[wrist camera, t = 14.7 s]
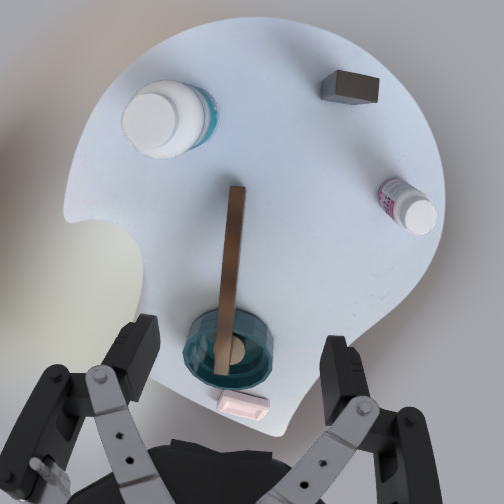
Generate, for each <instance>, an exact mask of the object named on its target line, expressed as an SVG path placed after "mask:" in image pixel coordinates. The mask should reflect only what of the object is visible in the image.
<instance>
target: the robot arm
mask: <svg viewBox="0 0 504 504" xmlns="http://www.w3.org/2000/svg"><path fill="white" fill-rule="evenodd" d="M159 349H160V333H159V326H158V319H157V316H154V315H148V314H140V315H139V317H138V319H137V321H136V322H135V323H133V322H129V323H128V324H127V325H125V326H124V327H123V328H122V329H121V331H120V332H119V334H118V337H117V338H116V339H115V341H114V343H113V344H112V346H111V348H110V349H109V351H108V353H107V355H106V356H105V358H104V360H103V362H102V363H101V365H97V366H94V367H92V368H91V369H90V370H88V372H87V373H69V371H68V369H67V368H66V367H65V366H63V365H59V364H55V365H52V366H49V367H48V368H47V369H46V370H45V371H44V372H43V374H42V376H41V378H40V379H39V381H38V383H37V385H36V386H35V388H34V390H33V391H32V393H31V395H30V397H29V399H28V401H27V403H26V404H25V406H24V408H23V410H22V412H21V414H20V416H19V417H18V419H17V421H16V423H15V425H14V427H13V430H12V431H11V433H10V435H9V438H8V440H7V442H6V444H5V446H4V448H3V450H2V452H1V455H0V489H2V490H3V491H4V492H6V493H7V494H9V495H10V496H11V497H12V498H13V499H15V500H16V501H18V502H19V503H21V504H325V503H324V502H323V501H322V499H320V498H321V496H322V495H323V494H324V493H325V492H326V490H327V489H328V488H329V486H330V485H331V484H332V483H333V482H334V480H335V479H336V478H337V476H338V475H339V474H340V472H341V471H342V470H343V468H344V467H345V465H346V464H347V463H348V462H349V460H350V459H351V457H352V456H353V454H354V453H355V452H356V450H357V449H358V450H362V451H367V452H371V453H373V455H374V466H375V476H376V490H377V504H442V496H441V490H440V485H439V479H438V474H437V468H436V464H435V459H434V455H433V449H432V445H431V441H430V437H429V432H428V428H427V425H426V420H425V417H424V415H423V414H422V412H421V411H420V410H418V409H416V408H414V407H404V408H402V409H401V410H400V411H399V412H398V413H397V412H393V411H389V410H384V409H382V408H379V405H378V404H377V402H376V401H375V400H373V399H372V398H371V397H370V394H369V389H368V385H367V381H366V378H365V373H364V369H363V366H362V362H361V358H360V355H359V354H358V352H357V351H356V350H355V348H354V347H347V344H346V340H345V337H344V336H334V335H328V337H327V339H326V343H325V346H324V349H323V352H322V355H321V359H320V378H321V387H322V396H323V405H324V415H325V425H326V426H331V427H330V428H329V429H328V430H327V431H325V432H324V433H323V434H322V435H321V436H320V437H319V439H318V440H317V441H316V442H315V443H314V445H313V446H312V447H311V448H310V449H309V450H308V451H307V452H306V454H305V455H304V456H303V457H302V458H301V459H300V460H299V462H298V463H297V464H296V465H295V466H294V467H293V468H292V467H290V466H289V465H287V464H285V463H283V462H281V461H279V460H276V459H273V458H272V452H263V451H262V452H261V451H250V450H245V451H237V452H225V453H220V452H217V451H214V450H211V449H209V448H206V447H203V446H201V445H198V444H196V443H191V442H185V441H180V440H175V439H172V440H171V444H170V445H162V446H158V447H154V448H151V449H149V450H147V449H146V447H145V445H144V443H143V441H142V439H141V437H140V434H139V432H138V430H137V428H136V426H135V423H134V421H133V418H132V416H131V413H130V411H129V409H128V405H129V402H130V401H134V402H138V401H139V398H140V396H141V393H142V391H143V388H144V386H145V383H146V381H147V378H148V376H149V374H150V371H151V369H152V366H153V364H154V362H155V359H156V357H157V355H158V352H159ZM85 417H94V419H95V423H96V426H97V429H98V432H99V435H100V438H101V441H102V444H103V447H104V449H105V452H106V455H107V458H108V460H109V463H110V465H111V468H112V470H113V472H111V473H109V474H108V475H106V476H104V477H103V478H101V479H99V480H97V481H96V482H94V483H92V484H91V485H89V486H87V487H85V488H83V489H81V490H80V491H78V492H76V493H74V494H73V495H72V496H71V495H70V479H69V477H68V475H67V474H66V473H65V470H66V467H67V464H68V461H69V459H70V456H71V453H72V450H73V448H74V445H75V443H76V440H77V437H78V435H79V432H80V430H81V427H82V425H83V422H84V420H85Z"/></svg>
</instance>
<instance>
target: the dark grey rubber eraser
mask: <svg viewBox="0 0 504 504" xmlns="http://www.w3.org/2000/svg"><path fill="white" fill-rule="evenodd" d="M378 92H379V78H375V77H371V76H366V75H362V74H357V73H352V72H347V71H341V70H337V71H335V72H334V73H332V74H331V75H330V76H328V77H327V78H325V79H324V80H323V81H322V89H321V100H326V101H333V102H339V103H345V104H350V105H358V104H368V103H377V102H378Z"/></svg>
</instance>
